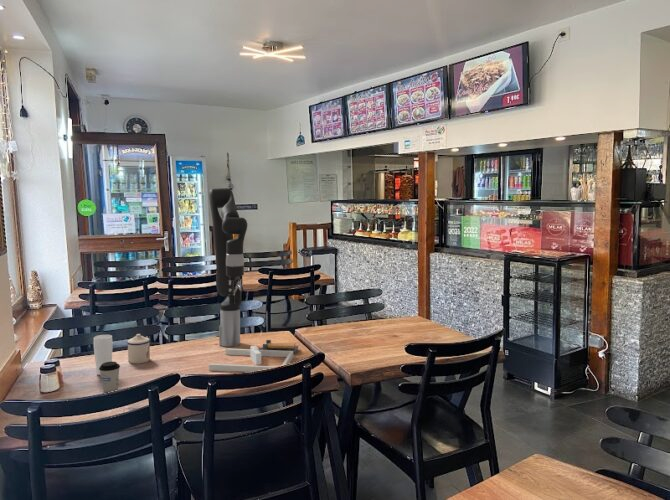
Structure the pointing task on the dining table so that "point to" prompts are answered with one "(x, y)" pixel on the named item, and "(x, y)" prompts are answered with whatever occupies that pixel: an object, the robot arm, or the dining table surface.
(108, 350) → the drinking glass
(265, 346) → the pedal base
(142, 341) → the teacup with lid
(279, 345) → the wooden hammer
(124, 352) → the dining table surface
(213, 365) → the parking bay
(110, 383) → the coffee cup
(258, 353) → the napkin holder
